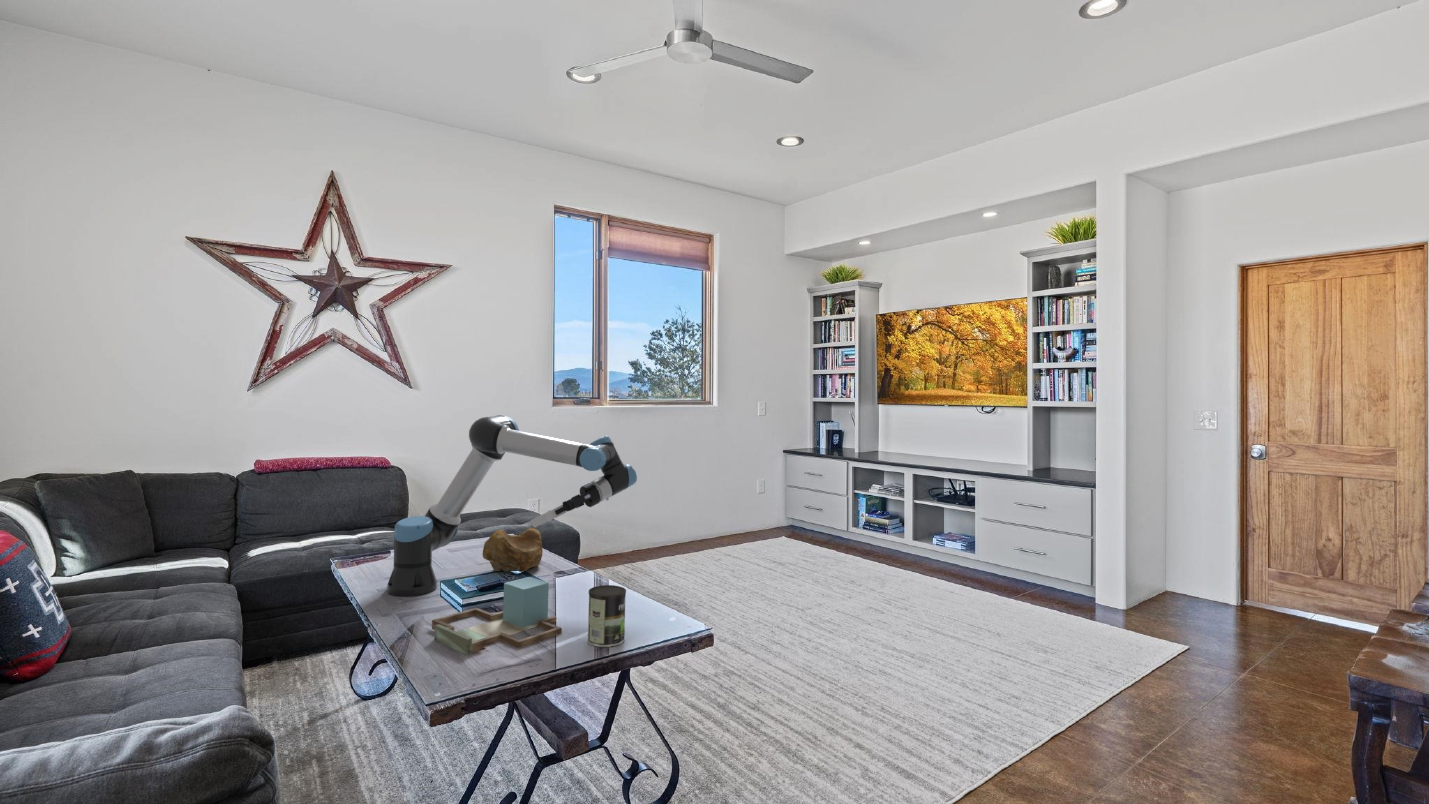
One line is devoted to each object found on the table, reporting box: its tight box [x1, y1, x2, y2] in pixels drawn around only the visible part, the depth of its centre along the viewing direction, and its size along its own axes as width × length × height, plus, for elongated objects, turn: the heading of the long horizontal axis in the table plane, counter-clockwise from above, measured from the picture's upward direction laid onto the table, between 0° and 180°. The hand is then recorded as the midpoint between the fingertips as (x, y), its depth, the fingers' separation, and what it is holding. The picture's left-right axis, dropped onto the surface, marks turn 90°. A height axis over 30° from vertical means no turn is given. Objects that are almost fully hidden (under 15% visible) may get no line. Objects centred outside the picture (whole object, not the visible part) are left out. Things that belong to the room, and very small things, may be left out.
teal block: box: [502, 576, 550, 628], centre depth 200 cm, size 9×9×11 cm
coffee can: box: [587, 584, 627, 648], centre depth 189 cm, size 10×10×14 cm
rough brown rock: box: [482, 527, 544, 572], centre depth 255 cm, size 23×17×15 cm
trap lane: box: [431, 607, 563, 656], centre depth 192 cm, size 29×31×4 cm
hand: (538, 521), depth 215 cm, fingers open, 13 cm apart
